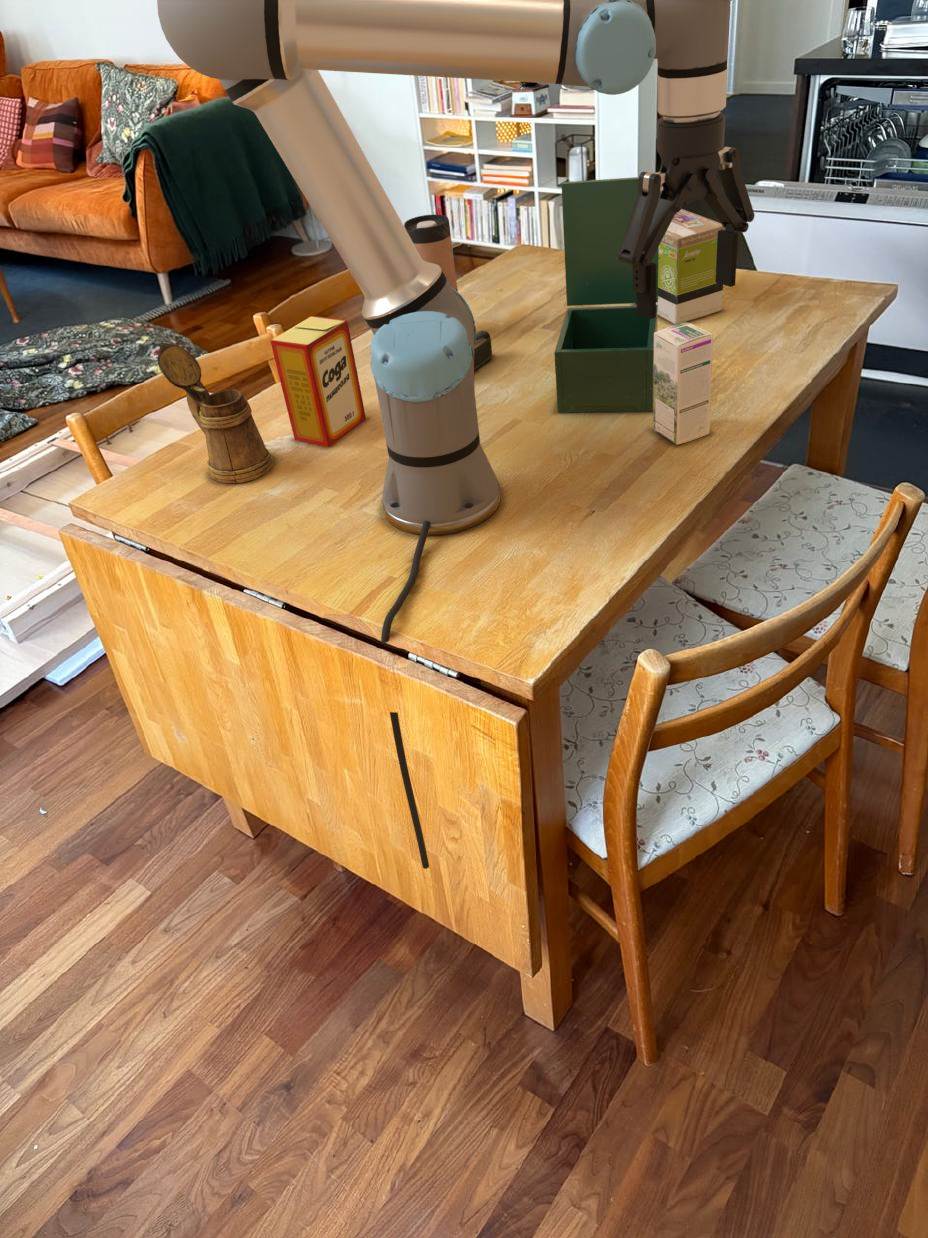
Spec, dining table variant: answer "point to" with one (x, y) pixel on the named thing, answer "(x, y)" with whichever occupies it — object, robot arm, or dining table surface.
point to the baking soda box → (319, 380)
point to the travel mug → (434, 242)
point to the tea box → (688, 269)
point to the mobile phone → (482, 349)
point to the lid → (598, 241)
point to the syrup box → (682, 382)
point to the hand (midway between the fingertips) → (686, 299)
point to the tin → (605, 360)
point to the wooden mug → (218, 420)
